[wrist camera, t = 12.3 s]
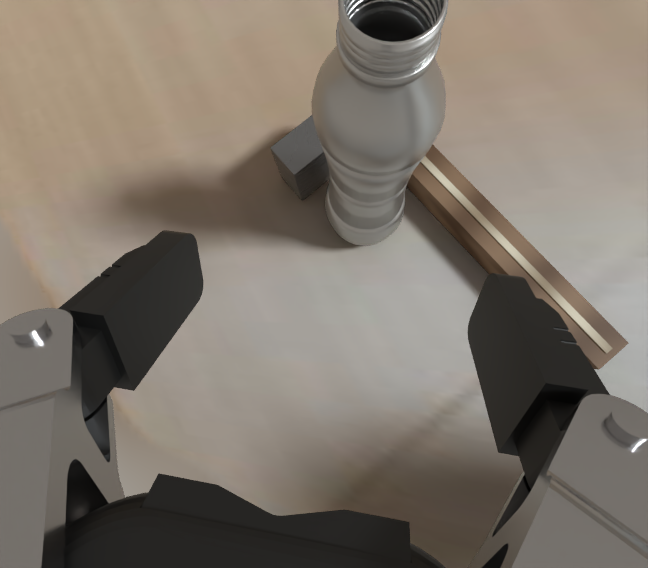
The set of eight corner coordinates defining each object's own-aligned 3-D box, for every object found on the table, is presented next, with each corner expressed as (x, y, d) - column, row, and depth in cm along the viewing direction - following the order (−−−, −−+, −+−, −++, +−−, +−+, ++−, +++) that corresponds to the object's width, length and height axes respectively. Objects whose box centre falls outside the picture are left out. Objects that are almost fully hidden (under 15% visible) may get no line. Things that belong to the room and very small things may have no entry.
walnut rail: (603, 342, 28) (629, 343, 25) (576, 366, 28) (600, 369, 25) (376, 109, 33) (378, 89, 30) (351, 128, 32) (352, 110, 30)
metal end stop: (361, 153, 32) (363, 119, 27) (301, 200, 32) (294, 174, 27) (340, 131, 32) (339, 93, 28) (281, 177, 32) (270, 147, 27)
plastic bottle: (340, 261, 30) (333, 117, 11) (316, 193, 32) (270, -50, 12) (410, 238, 30) (531, 50, 11) (383, 170, 32) (448, -112, 12)
